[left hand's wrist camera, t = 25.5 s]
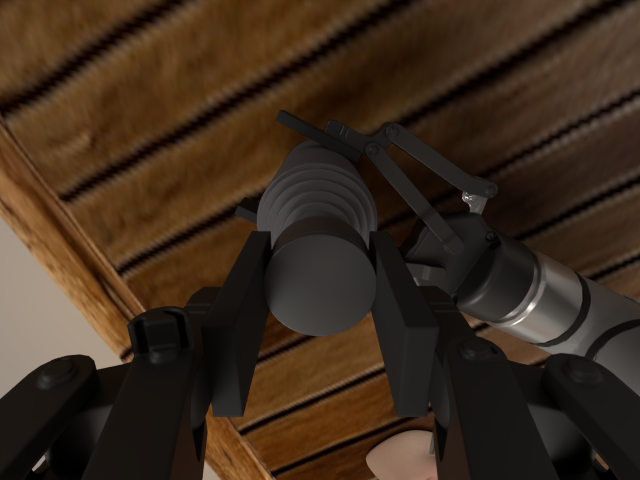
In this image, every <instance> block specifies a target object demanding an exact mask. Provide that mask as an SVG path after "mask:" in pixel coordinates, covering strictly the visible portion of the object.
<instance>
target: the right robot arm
mask: <svg viewBox="0 0 640 480" xmlns="http://www.w3.org/2000/svg"><path fill="white" fill-rule="evenodd" d="M275 121H277V122H279V123H281V124H283V125H285V126H287V127H289V128H291V129H293V130H294V131H296V132H298V133H300V134H302V135H304V136H306V137H308V138H310V139H312V140H314V141H315V142H317V143H319V144H321V145H323V146H325V147H327V148H329V149H331V150H333V151H335V152H337V153H338V154H340V155H342V156H344V157H346V158H348V159H350V160H352V161H354V162H356V163H357V162H358V160H359V158H360V157H361V155H362V154H363V155H365V156H367V157H368V159H369V160H370V161H371V162H372V163H373V164H374V165H375V167H376V168H377V169H378V170H379V171H380V172H381V173H382V175H383V176H384V177H385V178H386V179H387V180H388V182H389V183H390V184H391V185H392V186H393V187H394V188H395V190H396V191H397V192H398V193H399V194H400V195H401V196H402V198H403V199H404V200H405V201H406V202H407V203H408V205H409V206H410V207H411V208H412V209H413V210H414V212H415V213H416V214H417V215H418V216H419V217H420V218H421V219H419V218H418V220H417V221H416V223H415V225H414V226H413V230H412V233H411V235H410V236H409V237H408V238H407V239H406V240H405V241H404V242H403V244H402V245H401V247H397V248H398V250H399V252H400V254H401V256H402V258H403V260H404V261H405V263H406V265H407V267H408V269H409V271H410V273H411V274H412V276H413V278H414V280H415V282H416V284H417V286H437V287H439V288H440V289H442V290H443V291H445V292H446V293H448V294H449V296H450V297H451V299H452V300H453V302H454V305H456V306H457V308H458V309H459V311H462V312H464V313H466V314H468V315H470V316H472V317H474V318H477V319H479V320H481V321H485V322H486V323H488V324H489V325H491V326H493V327H495V328H497V329H500V330H502V331H504V332H506V333H509V334H511V335H513V336H515V337H518V338H520V339H522V340H524V341H526V342H528V343H530V344H532V345H535V346H537V347H539V348H541V349H543V350H545V351H547V352H549V353H551V354H558V353H568V354H575V355H580V356H583V357H586V358H589V359H590V360H593V361H595V362H597V363H599V364H601V365H602V366H604V367H605V368H607V369H608V370H610V371H611V372H612V373H613V374H615V375H616V376H617V377H618V378H619V379H620V380H621V381H623V382H624V383H625V384H626V385H627V386H628V387H629V388H631V389H632V390H633V391H634V392H635V393H636V394H637V395H639V396H640V304H639V302H637V301H635V300H633V299H631V298H629V297H627V296H622V295H620V294H618V293H616V292H614V291H612V290H610V289H608V288H606V287H604V286H602V285H600V284H598V283H596V282H594V281H592V280H590V279H588V278H586V277H584V276H582V275H580V274H578V273H577V272H575V271H573V270H572V269H570V268H568V267H566V266H565V265H563V264H561V263H559V262H557V261H555V260H553V259H551V258H549V257H548V256H546V255H544V254H542V253H540V252H538V251H536V250H534V249H532V248H528V247H527V246H526V245H525V244H523V243H521V242H519V241H517V240H515V239H514V238H512V237H510V236H508V235H506V234H504V233H502V232H500V231H498V230H496V229H495V228H493V227H491V226H489V225H488V224H487V223H486V221H485V219H484V218H483V216H482V215H481V214H482V211H483V209H484V206H485V204H486V202H487V199H488V198H493V197H494V196H496V194H497V193H498V186H497V185H496V184H495V183H493V182H490V181H488V180H486V179H483V178H481V177H478V176H474V175H470V174H467V173H465V172H464V171H463V170H461V169H460V168H458V167H457V166H456V165H454V164H453V163H452V162H450V161H449V160H447V159H446V158H445V157H443V156H442V155H441V154H439V153H438V152H436V151H435V150H434V149H432V148H431V147H430V146H428V145H427V144H425V143H424V142H423V141H421V140H420V139H419V138H417V137H416V136H415V135H413V134H412V133H410V132H409V131H408V130H406V129H405V128H404V127H402V126H401V125H399V124H397V123H393V122H386V123H384V124H383V125H382V126H381V128H380V129H379V130H378V131H376V132H375V133H374V134H373V135H370V136H365V135H362V134H360V133H359V132H357V131H355V130H353V129H351V128H349V127H347V126H346V125H344V124H342V123H340V122H338V121H336V120H328V122H327V124H326V126H325V128H324V130H323V131H322V130H320V129H318V128H316V127H315V126H313V125H311V124H309V123H307V122H305V121H303V120H301V119H299V118H298V117H296V116H294V115H292V114H290V113H288V112H286V111H284V110H280V111H279V113H278V116H277V118H276V120H275ZM392 143H393V144H394V145H396V146H397V147H399V148H400V149H401V150H403V151H404V152H406V153H407V154H408V155H410V156H411V157H413V158H414V159H415V160H417V161H418V162H420V163H421V164H423V165H424V166H425V167H427V168H428V169H430V170H431V171H432V172H434V173H435V174H437V175H438V176H439V177H441V178H442V179H444V180H445V181H446V182H448V183H450V184H451V185H453V186H455V187H456V188H458V189H459V191H458V196H459V198H460V199H461V200H463V201H464V202H465V204H466V208H465V209H460V210H453V211H447V212H440V213H438V212H437V211H436V210H435V209H434V208H433V207H432V206H431V205H430V203H429V202H428V201H427V200H426V199H425V198H424V196H423V195H422V194H421V193H420V192H419V190H418V189H417V188H416V187H415V186H414V185H413V183H412V182H411V181H410V180H409V179H408V177H407V176H406V175H405V174H404V173H403V172H402V170H401V169H400V168H399V167H398V166H397V164H396V163H395V162H394V161H393V160H392V159H391V157H390V156H389V155H388V154H387V153H386V151H385V149H386V148H387V147H388V146H390V145H391V144H392ZM258 207H259V203H257V202H255V201H253V200H250V199H248V198H246V197H245V198H244V199H243V200H242V201H241V203H240V204H239V205H238V207H237V209H236V212H235V214H236V215H238V216H240V217H242V218H244V219H246V220H249V221H251V222H253V223H255V224H257V212H258Z"/></svg>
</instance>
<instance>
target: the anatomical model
mask: <svg viewBox="0 0 640 480" xmlns="http://www.w3.org/2000/svg"><path fill="white" fill-rule="evenodd" d="M431 437H432V432H428V431H421V430H411V431H406V432H402V433H399V434H397V435H395V436H393V437H391V438H389V439H387V440H385V441H384V442H382V443H380V444H379V445H378V446H376V447H375V448H374V449H372V450H371V451H370V452H369V453H368V455H367V457H366V461H367V464H368V466H369V468H370V469H371V470H372V472H373V473H374V474H375V475H376V477H377V478H378V479H380V480H438V477H437V468H436V459H435V450H434V455H432V454H429V451H430V444H431Z"/></svg>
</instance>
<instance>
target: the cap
mask: <svg viewBox="0 0 640 480" xmlns="http://www.w3.org/2000/svg"><path fill="white" fill-rule="evenodd" d="M264 290H265V300H266V303H267V305H268V307H269V309H270V311H271V312H272V313H273V315H274V316H275V317H276V318H277V319H278V320H279V321H280V322H281V323H283V324H284V325H285V326H287V327H288V328H290V329H292V330H294V331H297V332H300V333H303V334H307V335H313V336H327V335H333V334H337V333H340V332H343V331H346V330H348V329H350V328H351V327H353V326H355V325H356V324H357V323H359V322H360V321H361V320H362V319H363V318H364V317H365V316H366V315H367V313H368V312H369V311H370V309H371V307H372V305H373V303H374V300H375V294H376V272H375V269H374V266H373V263H372V260H371V257H370V254H369V251H368V248H367V245H366V243H365V241H364V239H363V238H362V236H361V235H360V234H359V233H358V232H357V231H356V230H355V229H354V228H353V227H352V226H350V225H349V224H347V223H346V222H344V221H342V220H339V219H336V218H333V217H327V216H313V217H307V218H303V219H301V220H298V221H296V222H294V223H293V224H291V225H290V226H288V227H287V228H286V229H285V230H284V231H283V232H282V233H281V234H280V235H279V236H278V238H277V239H276V241H275V243H274V245H273V248H272V251H271V254H270V257H269V260H268V263H267V266H266V269H265V272H264Z"/></svg>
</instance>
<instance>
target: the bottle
mask: <svg viewBox="0 0 640 480" xmlns="http://www.w3.org/2000/svg"><path fill="white" fill-rule="evenodd" d="M313 216H327V217H333V218H336V219H339V220H342V221H344V222H346V223H347V224H349V225H350V226H352V227H353V228H354V229H355V230H356V231H357V232H358V233H359V234H360V235H361V236H362V238H363V239H364V241H365V243H366V245H367V248H368V249H369V231H377V225H378V216H377V209H376V205H375V202H374V199H373V197H372V195H371V193H370V191H369V190H368V188H367V186H366V185H365V183H364V182H363V180H362V178H361V177H360V175H359V173H358V172H357V170H356V168H355V167H354V165H353V163H352V162H351V160H350V159H348V158H346V157H344V156H342V155H340V154H338V153H337V152H335V151H333V150H331V149H329V148H327V147H325V146H323V145H321V144H319V143H317V142H315V141H314V140H308V141H305V142H303V143H301V144H299V145H297V146H296V147H295V148H294V149H293V150H292V151H291V152H290V153H289V154H288V156H287V157H286V159H285V161H284V162H283V164H282V165H281V167H280V168H279V170H278V172H277V173H276V175H275V176H274V178H273V180H272V181H271V183H270V184H269V186H268V187H267V189H266V191H265V192H264V194H263V196H262V198H261V201H260V203H259V207H258V212H257V229H258V231H271V245H272V248H273V245H274V243H275V241H276V239H277V238H278V236H279V235H280V234H281V233H282V232H283V231H284V230H285V229H286V228H287V227H288V226H290V225H291V224H293V223H294V222H296V221H298V220H301V219H303V218H307V217H313Z"/></svg>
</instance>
